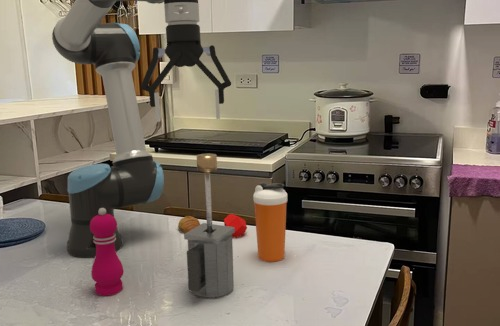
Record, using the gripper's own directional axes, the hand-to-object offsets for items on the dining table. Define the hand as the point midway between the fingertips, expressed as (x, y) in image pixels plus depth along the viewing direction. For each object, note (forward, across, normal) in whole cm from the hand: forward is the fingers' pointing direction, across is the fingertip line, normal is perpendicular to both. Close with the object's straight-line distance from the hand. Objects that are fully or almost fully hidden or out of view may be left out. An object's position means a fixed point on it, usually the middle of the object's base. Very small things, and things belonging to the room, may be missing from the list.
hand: (188, 120), depth 120 cm
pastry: (+38, -3, +36) cm, 53 cm away
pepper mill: (+39, -21, -3) cm, 44 cm away
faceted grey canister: (+39, +3, -7) cm, 40 cm away
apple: (+38, +10, +30) cm, 50 cm away
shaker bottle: (+39, +19, +12) cm, 45 cm away
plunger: (+27, +4, -6) cm, 28 cm away
